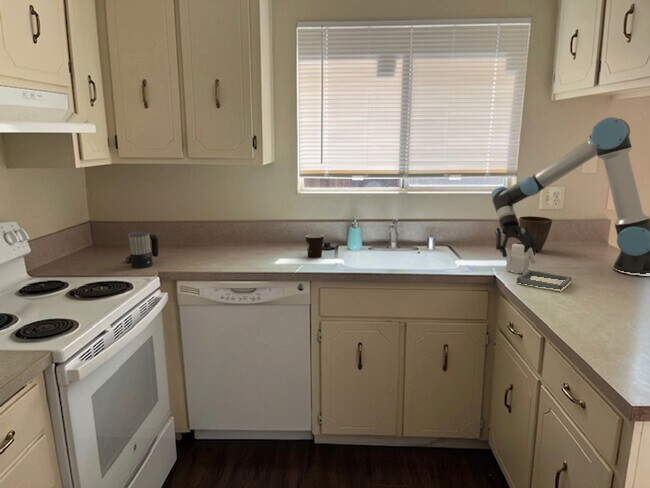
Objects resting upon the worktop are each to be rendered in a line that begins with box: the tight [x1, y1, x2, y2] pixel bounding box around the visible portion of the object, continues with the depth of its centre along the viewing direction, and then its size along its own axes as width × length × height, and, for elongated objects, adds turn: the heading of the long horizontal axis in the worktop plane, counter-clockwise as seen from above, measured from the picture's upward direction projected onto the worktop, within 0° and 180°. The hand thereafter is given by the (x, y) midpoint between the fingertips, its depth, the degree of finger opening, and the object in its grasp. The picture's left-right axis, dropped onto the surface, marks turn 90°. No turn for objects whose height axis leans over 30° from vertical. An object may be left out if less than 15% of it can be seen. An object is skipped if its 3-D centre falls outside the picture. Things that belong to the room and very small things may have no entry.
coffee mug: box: [305, 233, 325, 259], centre depth 232 cm, size 12×9×10 cm
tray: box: [516, 269, 573, 290], centre depth 188 cm, size 16×14×2 cm
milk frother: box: [125, 231, 159, 269], centre depth 218 cm, size 14×16×15 cm
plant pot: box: [518, 215, 553, 252], centre depth 240 cm, size 15×15×16 cm
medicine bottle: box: [505, 242, 530, 274], centre depth 204 cm, size 7×7×12 cm
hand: (521, 262), depth 202 cm, fingers closed on medicine bottle, 10 cm apart
